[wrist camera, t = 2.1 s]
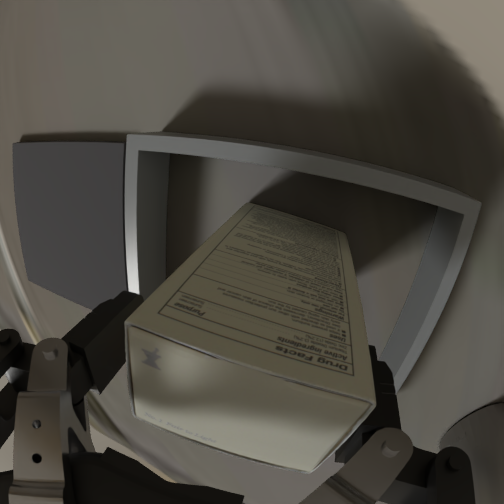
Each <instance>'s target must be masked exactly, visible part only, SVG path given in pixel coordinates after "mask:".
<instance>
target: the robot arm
mask: <svg viewBox="0 0 504 504" xmlns="http://www.w3.org/2000/svg"><path fill="white" fill-rule="evenodd" d="M143 302H144V299H143V296H142V295H140V294H136V293H133V292H129V291H126V290H124V291H122V292H121V293H120V294H118V295H117V296H116V297H115V298H114V299H109V300H107V301H105V302H103V303H100V304H99V305H98V306H97V307H96V308H94V309H93V310H92V312H91V313H89V314H88V315H87V316H86V317H85V319H84V318H83V319H82V320H81V321H80V322H79V323H78V324H77V325H76V326H75V327H73V328H72V329H71V330H70V331H69V332H68V333H67V334H66V335H65V336H64V337H63V338H62V339H59V338H47V339H44V340H42V341H40V342H39V343H38V344H37V345H34V344H29V343H24V342H22V340H21V337H20V335H19V333H18V332H17V331H16V330H14V329H4V330H1V331H0V378H1V377H2V376H3V375H4V374H5V375H6V377H7V379H8V381H9V382H8V383H7V385H6V386H5V387H4V388H3V389H2V390H1V391H0V448H1V447H2V445H3V444H4V443H5V441H6V440H7V439H8V437H9V436H10V434H11V433H12V432H13V430H14V450H13V470H10V471H5V472H0V504H244V503H242V502H243V499H244V496H243V495H239V494H235V493H231V492H227V491H223V490H219V489H215V488H212V487H208V486H198V485H188V484H180V483H172V482H168V481H166V480H164V479H162V478H161V477H160V476H158V475H157V474H155V473H153V472H152V471H151V470H149V469H148V468H147V467H145V466H144V465H142V464H141V463H140V462H138V461H137V460H135V459H132V458H130V457H128V456H126V455H124V454H121V453H119V452H117V451H115V450H113V449H111V448H109V447H107V449H106V450H105V452H104V453H97V452H95V448H94V446H93V443H92V440H91V434H90V426H89V415H88V403H87V396H86V393H87V392H88V391H89V390H91V391H93V392H95V393H97V394H99V395H100V394H101V393H102V391H103V390H104V389H105V387H106V386H107V385H108V384H109V382H110V381H111V380H112V379H113V377H114V376H115V375H116V373H117V372H118V371H119V370H120V368H121V367H122V366H123V365H124V363H125V362H126V352H125V324H124V322H125V321H126V319H127V318H128V317H129V316H130V315H131V314H132V313H133V312H134V311H135V310H136V309H137V308H138V307H139V306H140V305H141V304H142V303H143ZM368 346H369V353H370V358H371V366H372V373H373V381H374V389H375V397H376V407H375V408H374V409H373V411H372V412H371V413H370V414H369V416H368V417H367V418H366V419H365V420H364V421H363V422H362V423H361V424H360V426H359V427H358V428H357V429H356V430H355V431H354V433H353V434H352V435H351V436H350V437H349V438H348V439H347V440H346V441H345V442H344V443H343V444H342V445H341V446H340V447H339V448H338V449H337V450H336V452H335V462H340V463H344V466H343V467H342V468H341V469H340V470H339V471H338V472H337V473H336V474H334V475H333V476H331V477H330V478H328V479H327V480H326V481H325V482H324V483H322V484H321V485H320V486H319V487H318V488H317V489H316V490H314V491H313V492H312V493H311V494H310V495H308V496H307V497H306V498H305V499H304V500H302V501H301V502H300V503H299V504H375V503H376V502H377V501H381V502H385V503H388V504H504V403H498V404H493V405H491V406H488V407H485V408H483V409H480V410H478V411H476V412H474V413H472V414H471V415H469V416H467V417H466V418H464V419H462V420H461V421H459V422H458V423H457V424H456V425H454V426H453V427H452V428H451V429H450V430H449V431H448V432H447V433H446V434H445V435H444V436H443V438H442V440H441V442H440V446H439V447H440V452H439V453H438V454H436V453H432V452H429V451H425V450H422V449H419V448H416V447H415V446H413V444H412V441H411V439H410V438H409V436H408V435H407V434H406V433H404V432H403V431H402V430H401V424H400V416H399V409H398V403H397V396H396V395H395V394H396V390H395V386H394V379H393V373H392V371H391V370H390V368H389V367H388V365H387V364H386V362H385V361H377V355H376V349H375V346H372V345H368Z"/></svg>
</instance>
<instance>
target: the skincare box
mask: <svg viewBox="0 0 504 504" xmlns="http://www.w3.org/2000/svg"><path fill="white" fill-rule="evenodd" d="M124 324H125V352H126V368H127V379H128V390H129V397H130V404H131V409H132V414H133V416H134V417H136V418H137V419H139V420H141V421H144V422H146V423H148V424H150V425H152V426H154V427H157V428H159V429H161V430H163V431H165V432H168V433H170V434H173V435H175V436H177V437H180V438H183V439H185V440H188V441H191V442H193V443H196V444H198V445H201V446H204V447H207V448H209V449H212V450H215V451H219V452H222V453H225V454H228V455H231V456H233V457H238V458H242V459H245V460H249V461H252V462H255V463H259V464H264V465H268V466H272V467H276V468H281V469H285V470H289V471H295V472H300V473H306V474H308V473H312V472H313V471H314V470H315V469H317V468H318V467H319V466H320V465H321V464H322V463H323V462H324V461H325V460H327V459H328V458H329V457H330V456H331V455H332V454H333V453H334V452H335V451H336V450H337V449H338V448H339V447H340V446H341V445H342V444H343V443H344V442H345V441H346V440H347V439H348V438H349V437H350V436H351V435H352V434H353V433H354V431H355V430H356V429H357V428H358V427H359V426H360V424H361V423H362V422H363V421H364V420H365V419H366V418H367V417H368V416H369V414H370V413H371V412H372V411H373V409H374V408H375V407H376V397H375V389H374V381H373V373H372V366H371V358H370V353H369V346H368V340H367V333H366V327H365V322H364V316H363V309H362V304H361V299H360V294H359V289H358V284H357V279H356V275H355V270H354V265H353V260H352V256H351V252H350V248H349V244H348V239H347V235H346V234H345V233H343V232H341V231H338V230H335V229H333V228H330V227H327V226H324V225H321V224H318V223H315V222H312V221H309V220H306V219H303V218H300V217H297V216H294V215H291V214H287V213H284V212H281V211H278V210H274V209H271V208H267V207H264V206H260V205H256V204H253V203H246V204H245V205H244V206H242V207H241V208H240V209H239V210H238V211H237V212H236V213H235V214H234V215H233V216H232V217H231V218H230V219H229V220H228V221H227V222H225V223H224V224H223V225H222V226H221V227H220V228H219V229H218V230H217V231H216V232H215V233H214V234H213V235H212V236H211V237H210V238H208V239H207V240H206V241H205V242H204V243H203V244H202V245H201V246H200V247H199V248H198V249H197V250H196V251H195V252H194V253H193V254H192V255H191V256H190V257H189V258H188V259H187V260H186V261H185V262H184V263H183V264H182V265H181V266H179V267H178V268H177V269H176V271H175V272H174V273H173V274H172V275H170V276H169V277H168V278H167V279H166V280H165V281H164V282H163V283H162V284H161V285H160V286H159V287H158V288H157V289H156V290H155V291H154V292H153V293H152V294H151V295H150V296H149V297H148V298H147V299H146V300H145V301H144V302H143V303H142V304H141V305H140V306H139V307H138V308H137V309H136V310H135V311H134V312H133V313H132V314H131V315H130V316H129V317H128V318H127V319H126V321H125V322H124Z"/></svg>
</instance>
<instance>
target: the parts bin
mask: <svg viewBox="0 0 504 504" xmlns="http://www.w3.org/2000/svg"><path fill="white" fill-rule="evenodd" d="M170 153H176V154H186V155H195V156H203V157H211V158H219V159H226V160H233V161H240V162H246V163H253V164H259V165H265V166H271V167H277V168H282V169H288V170H293V171H298V172H304V173H309V174H314V175H318V176H323V177H328V178H333V179H337V180H342V181H346V182H350V183H355V184H359V185H363V186H367V187H371V188H375V189H379V190H383V191H387V192H391V193H395V194H398V195H402V196H406V197H409V198H413V199H416V200H420V201H423V202H427V203H430V204H433V205H436V206H438V209H437V212H436V216H435V220H434V223H433V226H432V230H431V233H430V236H429V239H428V242H427V246H426V249H425V252H424V255H423V257H422V260H421V263H420V266H419V269H418V272H417V274H416V277H415V280H414V282H413V285H412V287H411V290H410V293H409V295H408V298H407V300H406V302H405V305H404V307H403V310H402V312H401V314H400V317H399V319H398V321H397V323H396V326H395V328H394V330H393V332H392V334H391V336H390V339H389V341H388V343H387V345H386V347H385V349H384V351H383V353H382V355H381V357H380V359H379V361H385V362H386V364H387V365H388V367H389V368H390V370H391V371H392V373H393V379H394V386H395V390H396V393H397V392H398V390H399V389H400V387H401V386H402V384H403V382H404V381H405V379H406V378H407V376H408V374H409V373H410V371H411V369H412V368H413V366H414V364H415V362H416V361H417V359H418V357H419V355H420V354H421V352H422V350H423V348H424V346H425V344H426V343H427V341H428V339H429V337H430V335H431V333H432V331H433V329H434V327H435V325H436V323H437V321H438V319H439V317H440V315H441V313H442V311H443V308H444V306H445V304H446V302H447V300H448V297H449V295H450V293H451V290H452V288H453V286H454V283H455V281H456V278H457V276H458V273H459V271H460V268H461V266H462V263H463V260H464V258H465V255H466V252H467V249H468V246H469V244H470V241H471V238H472V235H473V231H474V228H475V225H476V222H477V218H478V215H479V211H480V208H481V204H482V203H481V202H479V201H478V200H476V199H474V198H472V197H470V196H468V195H467V194H465V193H463V192H461V191H459V190H457V189H455V188H452V187H449V186H446V185H443V184H440V183H437V182H434V181H431V180H428V179H425V178H421V177H418V176H415V175H411V174H408V173H404V172H401V171H397V170H394V169H390V168H386V167H382V166H379V165H375V164H371V163H367V162H363V161H358V160H354V159H350V158H346V157H341V156H336V155H332V154H327V153H322V152H317V151H312V150H307V149H301V148H296V147H290V146H284V145H278V144H272V143H266V142H259V141H252V140H244V139H237V138H228V137H220V136H210V135H200V134H188V133H175V132H147V133H135V134H127V142H126V162H125V240H126V260H127V275H128V288H129V292H133V293H136V294H140V295H142V296H143V299H144V301H145V300H146V299H147V298H148V297H149V296H150V295H151V294H152V293H153V292H154V291H155V290H156V289H157V288H158V287H159V286H160V285H161V284H162V283H163V282H164V281H165V280H166V222H167V196H168V178H169V163H170ZM395 395H396V394H395Z"/></svg>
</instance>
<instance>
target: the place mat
mask: <svg viewBox="0 0 504 504" xmlns="http://www.w3.org/2000/svg"><path fill="white" fill-rule="evenodd" d="M125 162H126V142H111V141H35V142H18V143H13V177H14V192H15V203H16V213H17V221H18V228H19V235H20V241H21V247H22V253H23V258H24V263H25V268H26V272H27V277H28V280H29V281H31V282H33V283H35V284H37V285H39V286H41V287H43V288H45V289H47V290H49V291H51V292H53V293H55V294H57V295H60V296H62V297H64V298H66V299H68V300H71V301H73V302H75V303H77V304H80V305H82V306H84V307H86V308H89V309H91V310H93V309H94V308H96V307H97V306H98V305H99V304H100V303H103V302H105V301H107V300H109V299H114V298H115V297H116V296H117V295H118V294H120V293H121V292H122V291H124V290H126V291H129V288H128V275H127V260H126V240H125Z"/></svg>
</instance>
